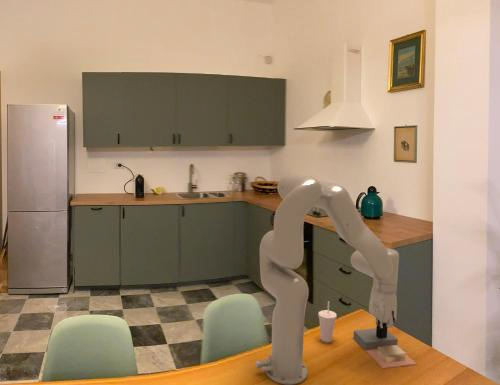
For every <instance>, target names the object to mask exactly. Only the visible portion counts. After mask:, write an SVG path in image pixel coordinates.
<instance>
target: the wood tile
mask: <svg viewBox="0 0 500 385" xmlns="http://www.w3.org/2000/svg"><path fill="white" fill-rule="evenodd" d="M377 354H378V355H379V356H380V357H381V358H382V359H383V360H384V361H385V362H394V361H403V360H405V355H407V353H406V352H405V351H404V350H403V349H402V348H401V347H400V346H398V344H397V345H392V346H383V347H378V350H377Z"/></svg>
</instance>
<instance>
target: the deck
mask: <svg viewBox="0 0 500 385" xmlns="http://www.w3.org/2000/svg"><path fill="white" fill-rule="evenodd" d="M352 337H353V338H352V339H353V340H354V341H355V342H356V343H357V344H358V345H359V346H360V347H361V348H362V350H364V351H365V350H369V349H378V347H383V346H392V345H397V346H398V341H399V340H398V338H397V337H396V336H395V335H394V334H392V333H391V332H389V331H388V329H387V338H382V339H379V338H378V337H377V336H376V327H375V328H374V327H373V328H365V329H357V330H356V329H355V330H353V336H352Z"/></svg>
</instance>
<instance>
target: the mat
mask: <svg viewBox="0 0 500 385" xmlns="http://www.w3.org/2000/svg"><path fill="white" fill-rule="evenodd" d="M377 350H378V349H369V350H364V351H365V352H366V353H367V354H368V356H369V357H370V358H371V359H372V360H373V361H374V362H375V363H376V364H377V365H378V366H379V367H380V368H381V369H383V370H385V369H386V370H387V369H394V368H399V367H400V368H401V367H409V366H415V365H417V363H416V362H415V360H413V359H412V358H411V357H410V356H409V355H408V354H406V355H405V360H403V361H394V362H385V361H384V360H383V359H382V358H381V357H380V356H379V355H378V354H377Z"/></svg>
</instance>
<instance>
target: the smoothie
mask: <svg viewBox="0 0 500 385" xmlns="http://www.w3.org/2000/svg"><path fill="white" fill-rule="evenodd" d="M317 316H318V319H319V331H320V340H321V341H322V342H324V343H330V342H332V339H333V335H334V329H335V323H336V319H337V318H338V317H337V313H336V312H335V311H332V310H330V301H327V309H323V310H320V311H318V314H317Z"/></svg>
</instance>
